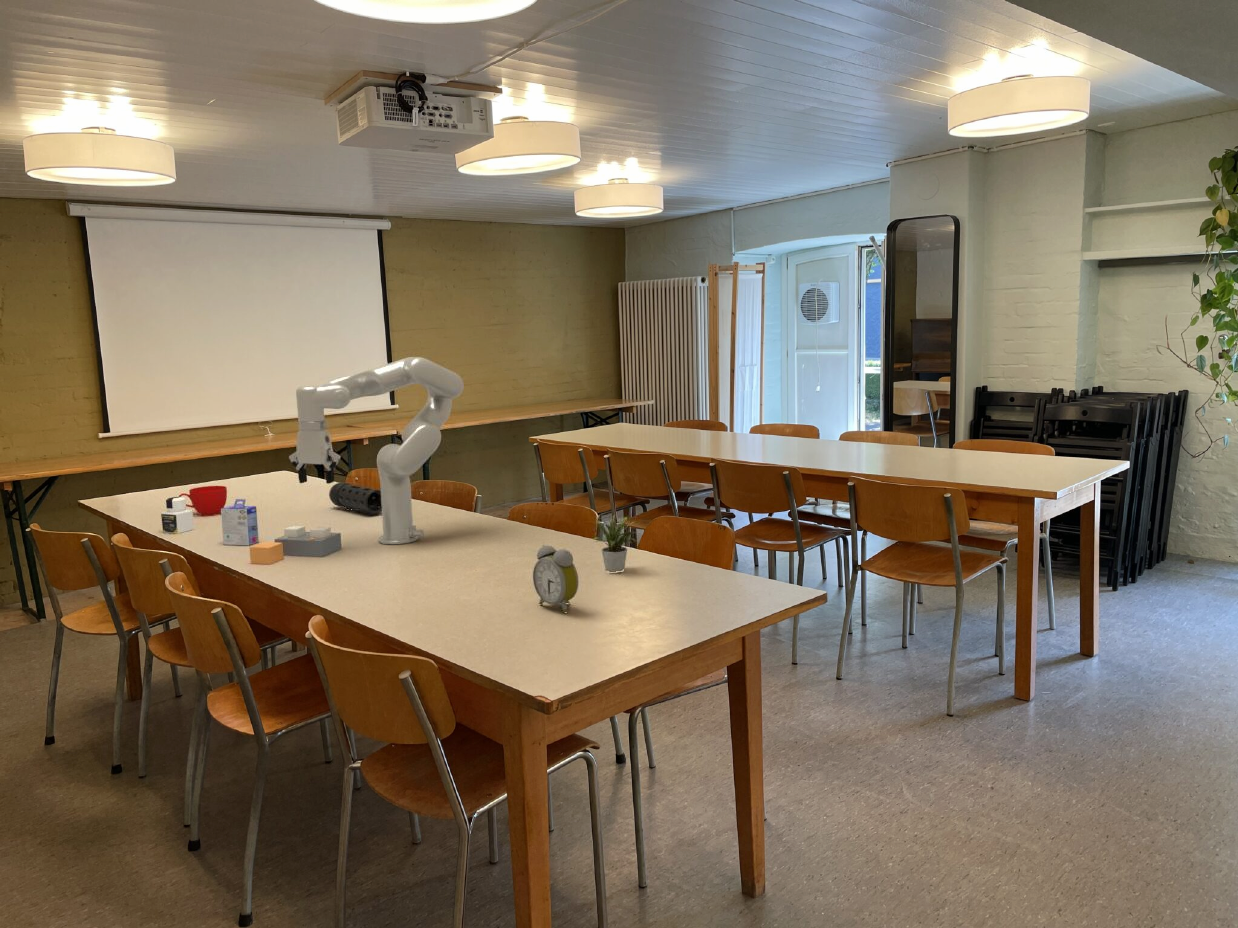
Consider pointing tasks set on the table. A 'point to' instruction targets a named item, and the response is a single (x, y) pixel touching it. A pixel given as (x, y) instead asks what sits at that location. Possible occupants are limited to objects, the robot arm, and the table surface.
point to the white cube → (294, 531)
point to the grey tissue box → (310, 545)
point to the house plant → (614, 545)
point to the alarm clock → (555, 576)
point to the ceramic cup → (207, 499)
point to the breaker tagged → (320, 532)
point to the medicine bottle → (177, 516)
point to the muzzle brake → (356, 498)
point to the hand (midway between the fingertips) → (316, 482)
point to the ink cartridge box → (239, 524)
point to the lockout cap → (266, 553)
